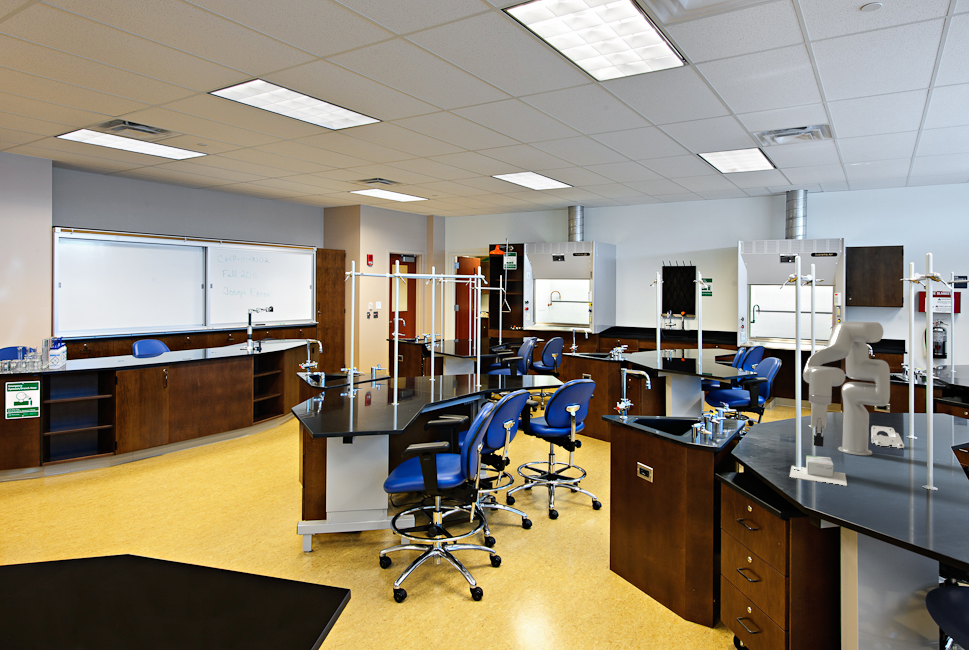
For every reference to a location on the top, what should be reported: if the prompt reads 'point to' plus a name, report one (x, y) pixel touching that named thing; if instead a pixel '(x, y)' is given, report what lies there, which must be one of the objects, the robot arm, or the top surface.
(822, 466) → the ink box
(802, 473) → the bench mat
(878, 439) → the mounting bracket
